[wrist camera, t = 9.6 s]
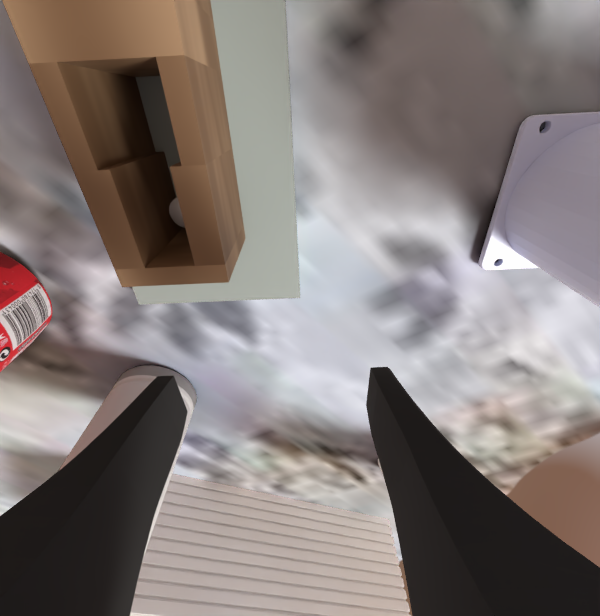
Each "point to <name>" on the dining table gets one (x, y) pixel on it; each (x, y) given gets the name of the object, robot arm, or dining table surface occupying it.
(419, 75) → the dining table surface
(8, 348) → the soda can
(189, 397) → the travel mug
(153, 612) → the stack of papers
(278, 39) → the mounting board
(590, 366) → the dining table surface
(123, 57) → the wooden compartment box
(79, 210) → the dining table surface
